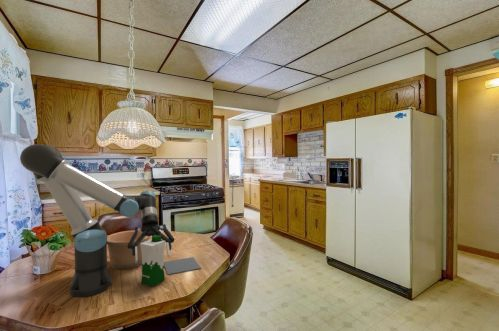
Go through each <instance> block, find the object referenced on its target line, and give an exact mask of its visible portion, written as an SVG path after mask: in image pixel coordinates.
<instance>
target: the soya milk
mask: <svg viewBox="0 0 499 331" xmlns="http://www.w3.org/2000/svg"><path fill="white" fill-rule="evenodd" d="M165 245H166V241H164V240H162V239H161V235H154V236H151V238H150V239H149V240H148V241H145V242H143V243H140V247H141V252H142V264H141V278H140V279H141V282H140V284H142V285H145V286H147V287H151V288H153V287H156V286H157V285H158V284H161V283H162V282H164V281H165V280H166V279H165V267H164V262H165V258H164V257H165V256H164V255H165Z"/></svg>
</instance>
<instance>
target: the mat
mask: <svg viewBox="0 0 499 331" xmlns="http://www.w3.org/2000/svg"><path fill="white" fill-rule="evenodd" d="M201 269H202V267H201V266H200V265H199V263H198V261H197V260H196V259H195V257H194V256H192V257H185V258H179V259H173V260H168V261H164V270H165V271H166V274H167V276H170V275H176V274H181V273H186V272H187V273H188V272H192V271H196V270H197V271H198V270H201Z"/></svg>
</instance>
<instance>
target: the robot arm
mask: <svg viewBox="0 0 499 331" xmlns="http://www.w3.org/2000/svg"><path fill="white" fill-rule="evenodd" d="M19 161H20V163H21V165H22V167H24V169H26V170H28V171H29V172H31V173H33V175H34V176H35V178H36V180H37V181H39V182H42V183H44V184H45V186H46V188H47V189H48V191H49V193H50V195H51V196H52V198H53V199H54V201H55V202H56V205H57V206H58V208H59V209H60V211H61V212H62V215H63V216H64V217H65V219H66V221H67V223H68V224H69V226H70V227H71V229H72V230H71V232H70V235H71V237H72V239H73V240H74V241H73V248H74V274H73V277H72V280H71V283H70V285H69V295H70V296H72V297H76V298H84V297H91V296H94V295H98V294H100V293H103V292H104V291H107V290H108V289H109V288H110V287H111V286H112V282H113V281H112V276H111V273H110V271H109V268H108V255H107V254H108V245H107V236H108V234H107V231H106V230H105V229H104V228H103V227H102V225H101V224H100V222H99V220H97V219H94V218H92V216H91V214H90V212H89V210H88V209H87V207H86V205H85V203H84V202H83V200H82V198H81V197H80V194H78V192H80V193H81V194H83V195H85V196H87V197H89V198H91V199H93V200H95V201H97V202H99V203H101V204H103V205H105V206H107V207H108V208H111V209H113V210H114V211H115V212H118V213H120V214H121V216H123V217H127V218H131V217H134V216H135V215H137V214H138V212H139V211H140V215H141V216H140V217H141V227H138V226H137V227H134V230H135V232H134V234H133V236H132V238H131V240H130V241H129V243H128V249H130V248H131V249H132V255H133V256H135V262H136V263H138V257H137V246H138V244H139V243H140V242H141V241H142V240H143V238H145V236H151V237H152V236H154V235H161V240H164V241H166V242H165V245H166V255H167V256H166V257H167V259H170V258H171V252H170V251H172V244H173V243H174V242H175V237H174V236H173V235H172V233H171V232H170V231H169V230H168V228H167V226H166V225H167V224H165V223H164V224H162V225H159V219H158V218H159V217H158V208H157V207H158V206H157V198H156V193H155V192H154V191H153V190H145V191H144V190H143V191H142V192H140V194H139V195H126V194H123V193H122V192H120V191H118V190H117V189H115V188H113V187H111V186H110V185H108V184H106V183H104V182H102V181H100V180H99V179H97V178H95V177H93V176H91V175H89V174H87V173H86V172H84V171H82V170H81V169H78V168H76V166H75V167H74V166H73V165H71V164H69V163H68V161H67V159H65V158H64V157H63V155H62V153H61V151H60V150H58V149H57V147H54V146H52V145H47V144H43V143H42V144H41V143H35V144H31V145H28V146H26V147H25V148H24V149H23V150H21V153H20V157H19ZM140 231H141V232H143V233H142V234H141V236H140V237H139V238H138V239H137V240H136V242H135V243H134V244H133V242H134V240H135V238H136V236H137V233H139V232H140ZM161 231H163V232H161ZM132 244H133V245H132Z"/></svg>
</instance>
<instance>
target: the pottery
mask: <svg viewBox="0 0 499 331" xmlns="http://www.w3.org/2000/svg"><path fill="white" fill-rule="evenodd" d="M134 232H135V229H134V230H132V229H131V230H124V231H119V232H115V233H112V234H111V233H110V234H109V235H107V252H108V255H109V256H108V257H109V262H110V267H111V268H113V269H114V270H127V269H133V268H137V267H139V266H142V252H141V247H140V243H143V242H145V241H148V240H151V238H152V236H145V238H143V240H142V241H141V242H140V243H139V244H138V246H137V257H138V263H136V262H135V256H133V255H132V249H131V248H130V249H128V243H129V241H130V240H131V238H132V236H133V234H134ZM142 233H143V232H141V231H140V232H139V233H137V236H136V238H135V240H134V242H133V244H134V243H135V242H136V240H137V239H138V238H139V237H140V236H141V234H142ZM133 244H132V245H133Z"/></svg>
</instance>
